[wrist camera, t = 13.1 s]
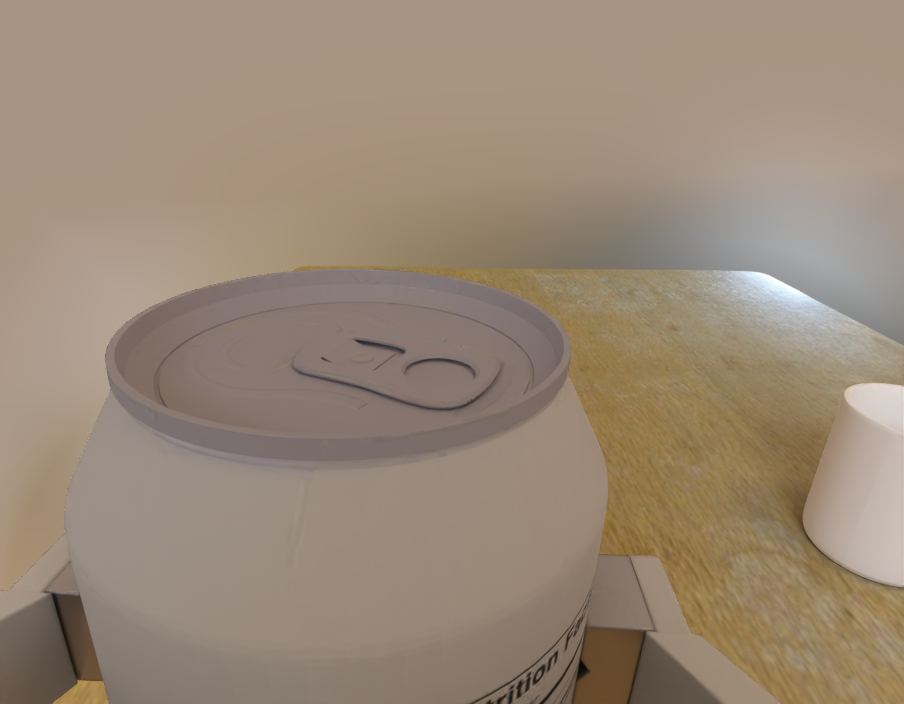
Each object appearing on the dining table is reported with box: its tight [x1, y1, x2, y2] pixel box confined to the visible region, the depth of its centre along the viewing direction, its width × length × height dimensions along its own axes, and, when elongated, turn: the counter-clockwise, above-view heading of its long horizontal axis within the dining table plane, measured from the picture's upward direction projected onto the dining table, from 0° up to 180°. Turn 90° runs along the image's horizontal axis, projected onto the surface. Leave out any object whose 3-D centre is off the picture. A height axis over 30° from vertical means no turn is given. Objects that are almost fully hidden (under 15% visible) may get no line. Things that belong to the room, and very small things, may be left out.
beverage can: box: [64, 269, 608, 704], centre depth 10 cm, size 7×7×12 cm
